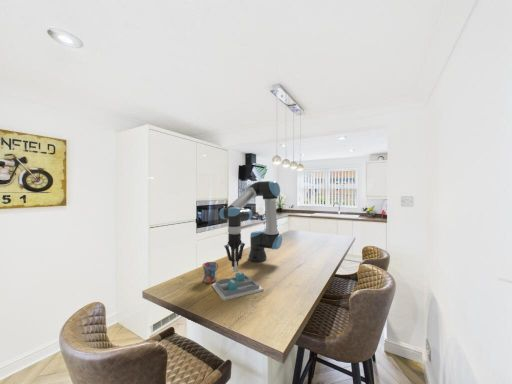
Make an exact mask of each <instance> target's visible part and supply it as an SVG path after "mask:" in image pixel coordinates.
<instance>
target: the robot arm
mask: <svg viewBox="0 0 512 384" xmlns="http://www.w3.org/2000/svg"><path fill="white" fill-rule="evenodd" d="M280 194H281V188H280V185H279V183H278V181H275V180H274V181H273V180H269V181H261V180H260V181H256V182H254V183H252V184H251V185H249V186H248V187H247V188H246V189H245V191H244V192H243V193H242V194H241V195H240V196H238V198H236V199H235V200H234V201H233V202H232V203H231V204H229V206H228V205H227V207H223V208H221V209H220V210H219V212H218V215H219V217H220V219H222V220H227V221H228V224H227V227H228V228H227V229H228V230H227V232H228V238H227V239H228V241H227V244H225V245H223V246H224V248H225V251H226V255H227V258H228V260H229V261H230V262H231V267H232V272H233V273H238V266H239V262H240V260H242V258H243V257H242V256H243V251H244V247H245V245H246V243H244V242H243V241H242V233H241V231H242V229H241V227H242V225H241V223H242V222H245V221H246V222H247V221H249V220H251V219H252V217H253V212H252V210H251V209H250V208H244V207H245V206H246V205H247V204H249V202H250V201H251V200H252V199H255V198H256V197H262V199H263V200H264V209H265V210H264V211H265V212H264V213H265V214H264V215H265V229H266V230H256V231H252V232H250V242H249V243H250V251H249V253H248V260H249V261H251V262H254V263H255V262H256V263H261V262H265V261H267V254H266V250H265V249H268V250H269V249H270V250H279V249H280V248H281V246H282V243H283V236H282V235H281V234H280V231H279V230H278V223H277V221H278V220H277V201H276V200H278V197H279V196H280Z"/></svg>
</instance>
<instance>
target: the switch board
mask: <svg viewBox="0 0 512 384" xmlns="http://www.w3.org/2000/svg"><path fill="white" fill-rule="evenodd" d="M230 280H235V281H236V276H234V277H229V278H228V277H227V278H222V279H220V280H218V279H217V280H216V281H215V282H214V283H211V286H212V288H213V290H215V292H216V293H217V294H218V295H219V297H220V299H221V300H222V301H224V302H225V301H228V300H231V299H236V298H239V297H243V296H247V295H251V294H255V293H258V292H262V291H264V288H263V287H262V286H261V285H260V284H259V283H257V282H255V281H254V280H253V279H252V278H250V277H249V275H246V274H244V280H243V281H238V282H237V289H235V290H231V291H228V281H230Z"/></svg>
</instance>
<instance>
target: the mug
mask: <svg viewBox="0 0 512 384" xmlns="http://www.w3.org/2000/svg"><path fill="white" fill-rule="evenodd" d="M202 269H203V271H204V276H203V279H202V282H204V283H208V284H210V283H211V284H213V283H216V282H217V281H218V278H217V276H216V272H217V271H218V269H219V264H218V263H217V262H214V261H207V262H204V263H203V264H202Z"/></svg>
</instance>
